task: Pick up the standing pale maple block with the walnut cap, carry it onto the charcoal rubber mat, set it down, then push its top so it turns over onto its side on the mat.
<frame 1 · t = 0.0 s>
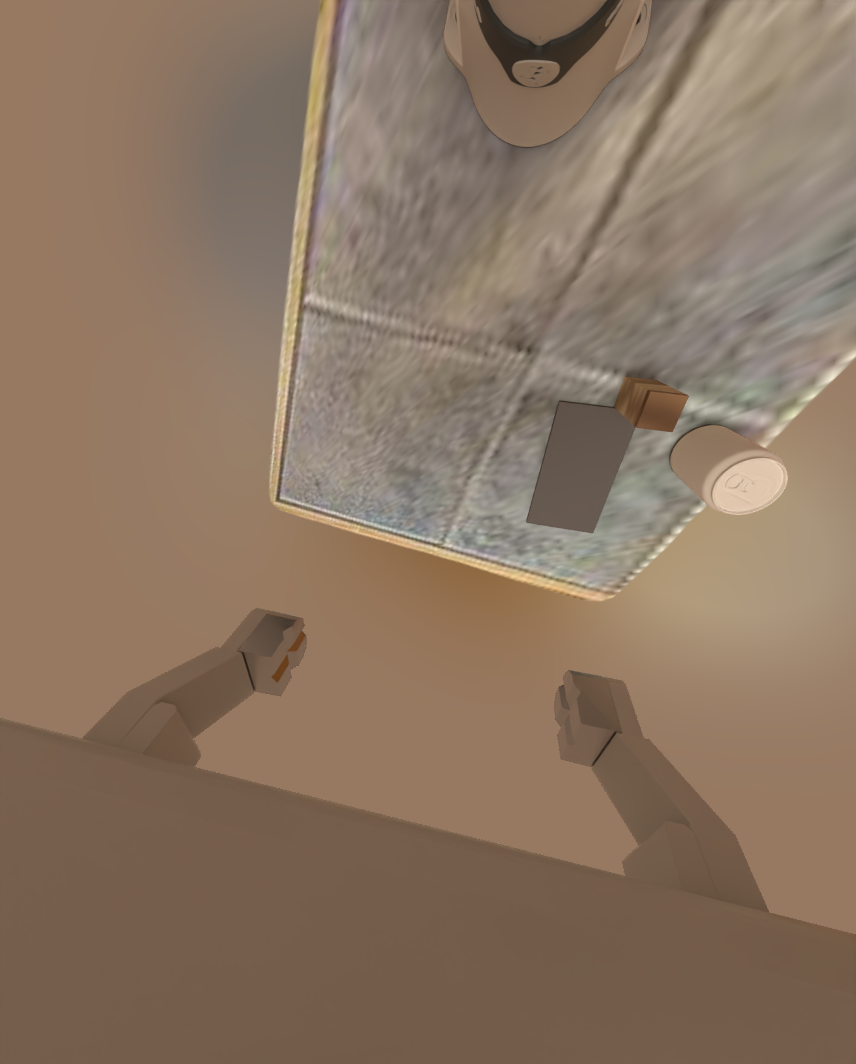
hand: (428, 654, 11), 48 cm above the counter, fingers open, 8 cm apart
maple block: (634, 394, 49), on the counter
rubber mat: (577, 471, 55), on the counter
beverage can: (700, 451, 51), on the counter
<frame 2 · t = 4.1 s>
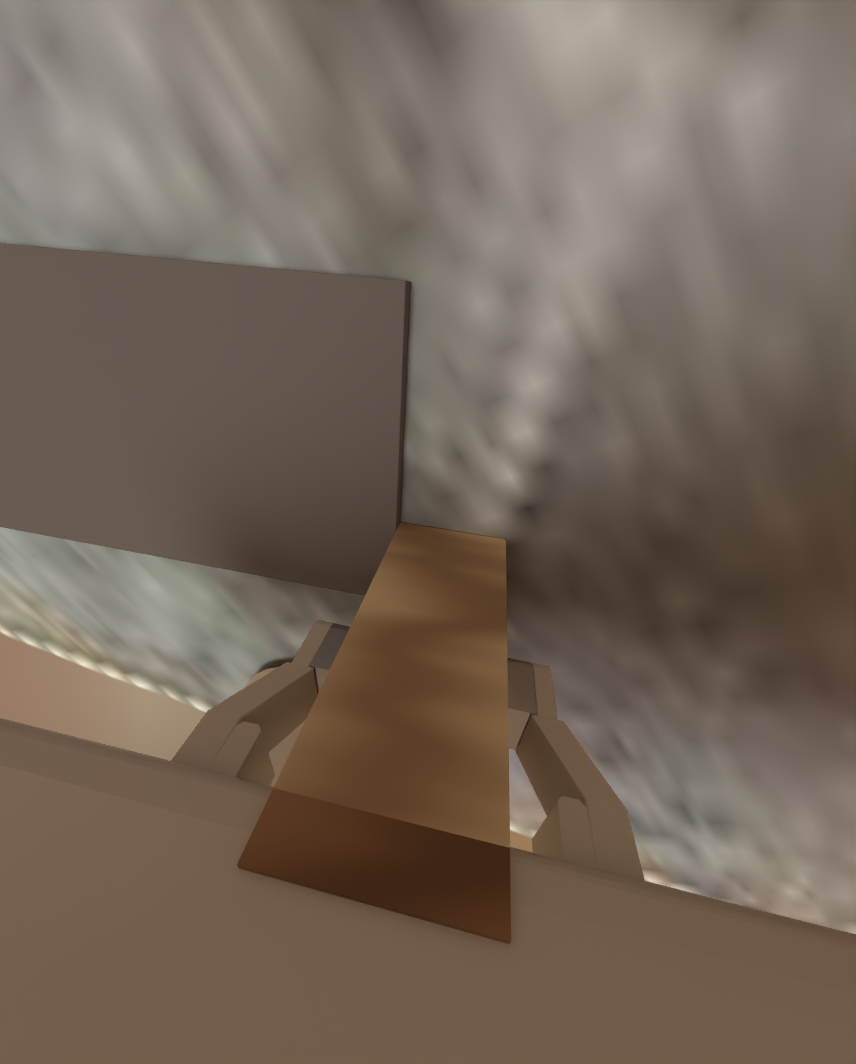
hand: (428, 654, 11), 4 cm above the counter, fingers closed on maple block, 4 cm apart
maple block: (446, 572, 14), on the counter, touching gripper
rubber mat: (144, 435, 13), on the counter
beverage can: (318, 699, 22), on the counter
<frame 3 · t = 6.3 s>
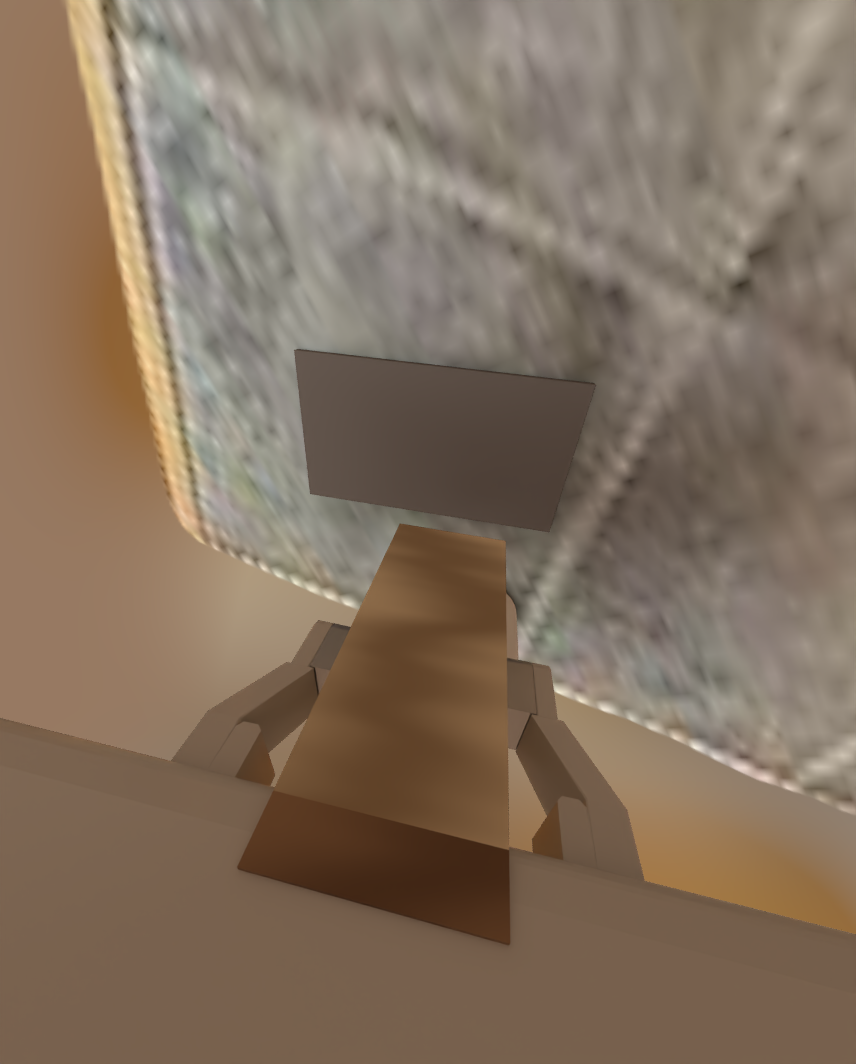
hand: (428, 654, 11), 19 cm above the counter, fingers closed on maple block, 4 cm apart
maple block: (446, 573, 14), point 15 cm above the counter, touching gripper
rubber mat: (432, 445, 27), on the counter
beverage can: (473, 606, 35), on the counter
when the fingers open (6 cm above the counter, at t = 8.9 s): maple block stays where it is, resting on rubber mat.
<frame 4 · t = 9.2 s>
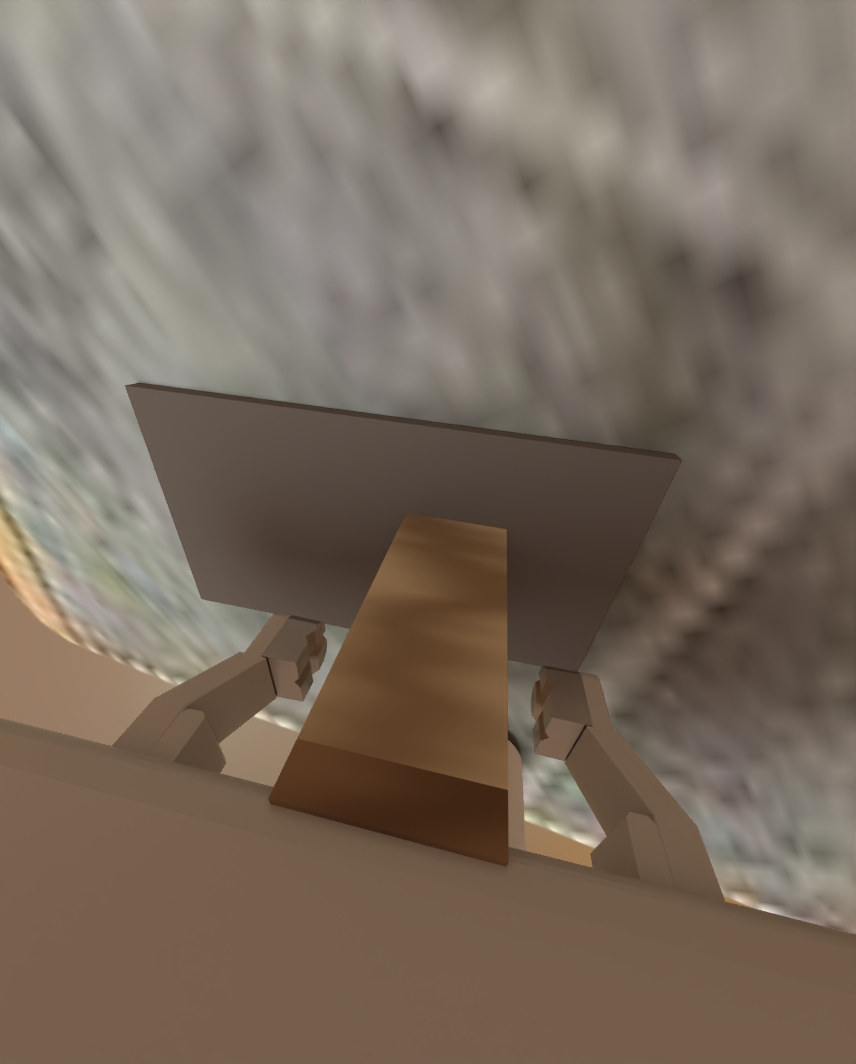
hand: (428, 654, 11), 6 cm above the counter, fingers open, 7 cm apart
maple block: (449, 560, 15), point 1 cm above the counter, touching rubber mat
rubber mat: (383, 540, 16), on the counter
beverage can: (459, 741, 24), on the counter
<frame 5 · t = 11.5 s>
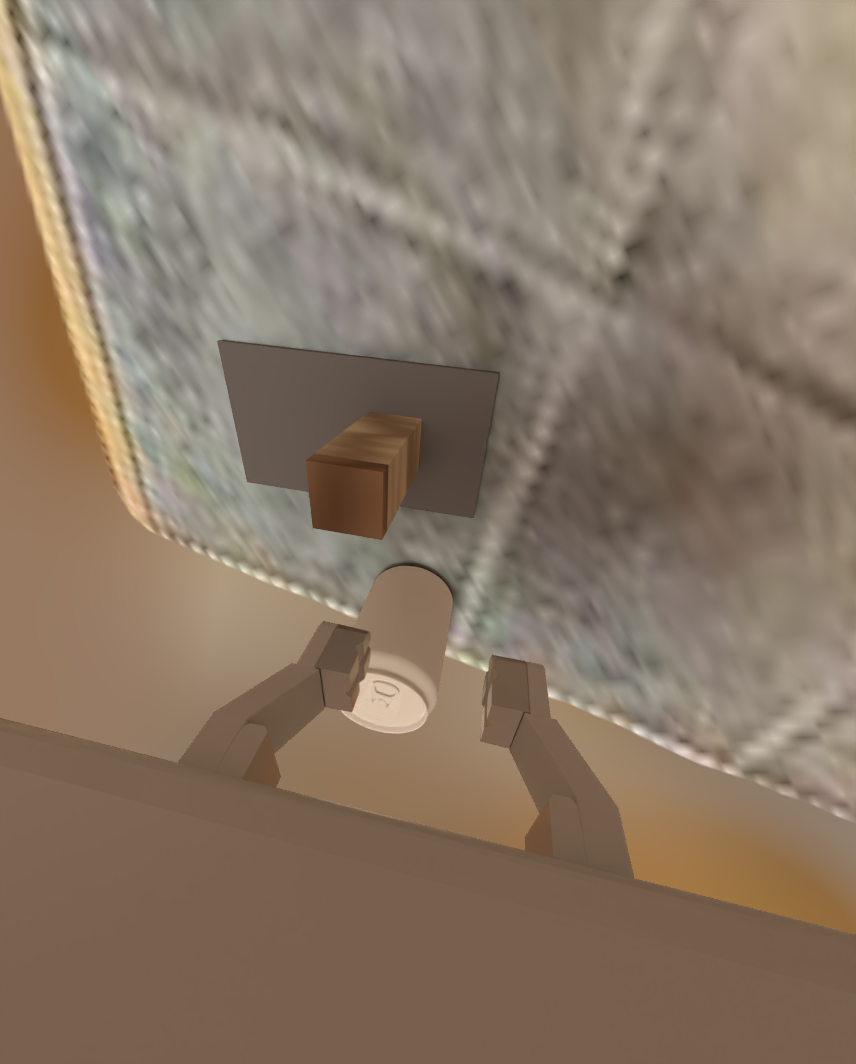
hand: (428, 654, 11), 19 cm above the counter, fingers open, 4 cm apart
maple block: (394, 441, 27), point 1 cm above the counter, touching rubber mat
rubber mat: (357, 433, 28), on the counter
beverage can: (414, 592, 36), on the counter
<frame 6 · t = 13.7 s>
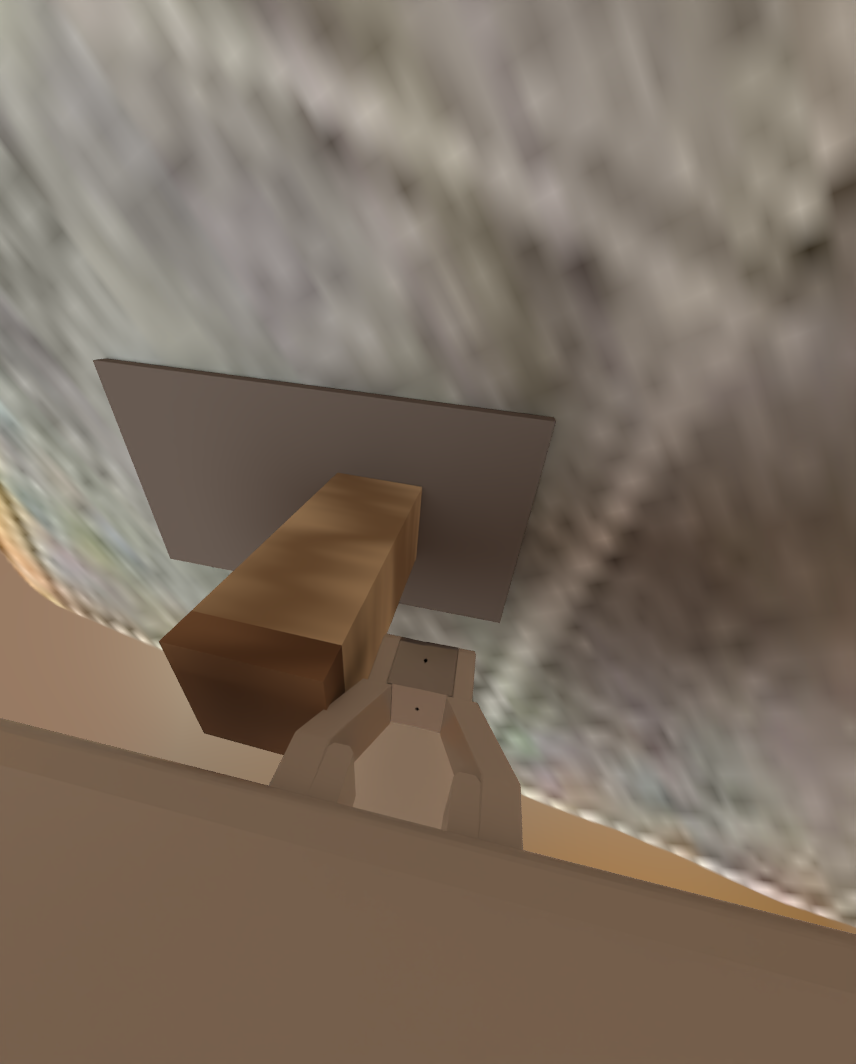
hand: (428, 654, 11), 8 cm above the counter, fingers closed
maple block: (378, 517, 17), point 1 cm above the counter, touching gripper, rubber mat
rubber mat: (323, 500, 18), on the counter
beverage can: (411, 697, 26), on the counter
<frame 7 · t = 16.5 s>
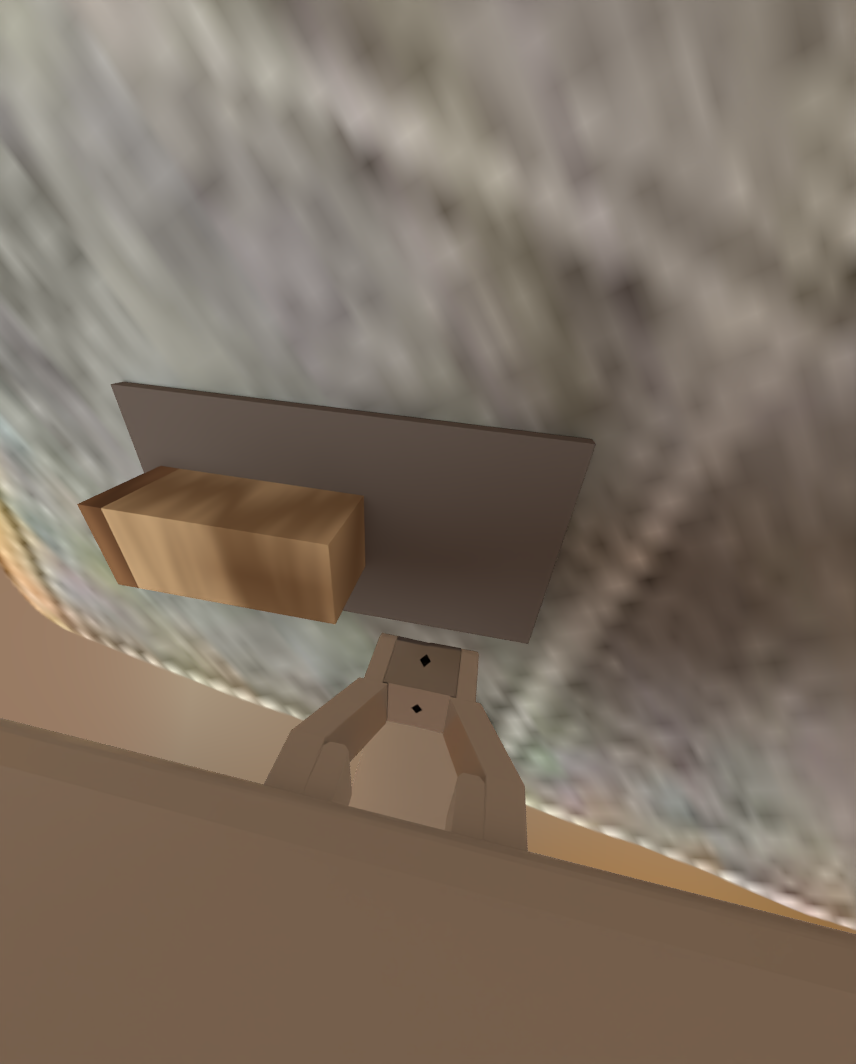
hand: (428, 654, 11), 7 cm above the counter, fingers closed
maple block: (350, 557, 15), point 3 cm above the counter, tilted 90°, touching rubber mat
rubber mat: (348, 522, 18), on the counter
beverage can: (431, 717, 26), on the counter
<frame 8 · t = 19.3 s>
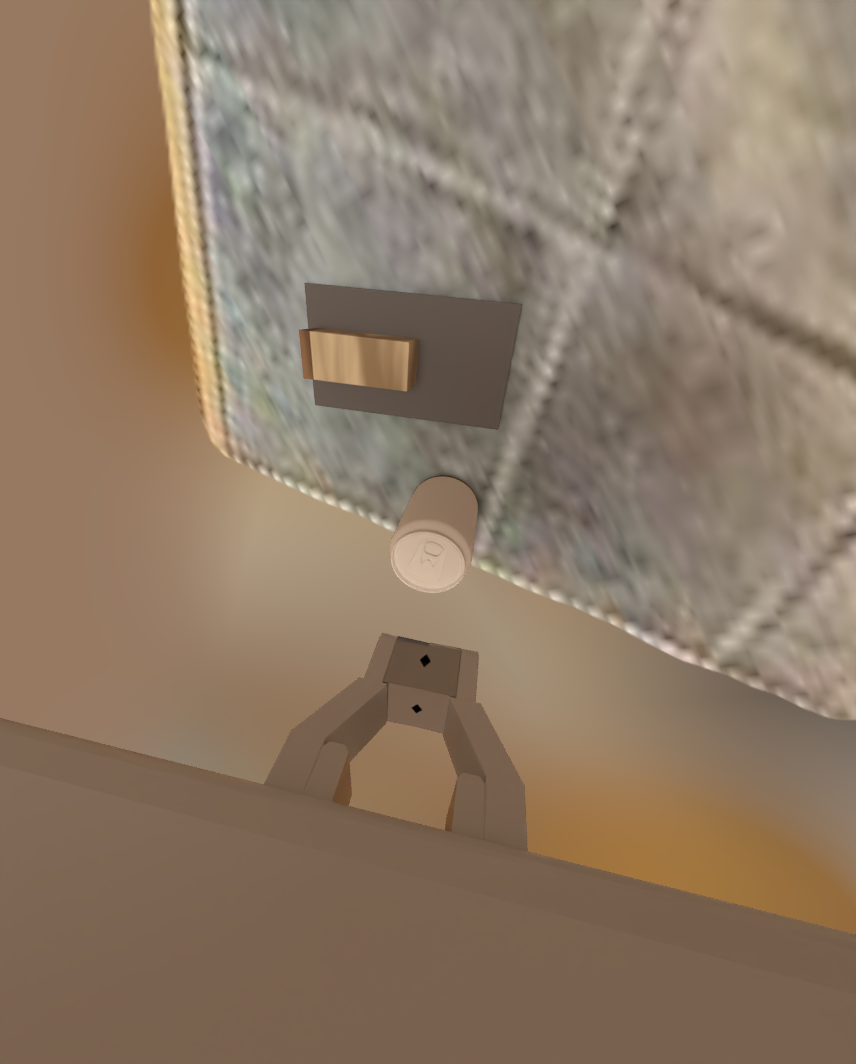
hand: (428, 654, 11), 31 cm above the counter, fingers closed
maple block: (412, 364, 33), point 3 cm above the counter, tilted 90°, touching rubber mat
rubber mat: (408, 359, 36), on the counter
beverage can: (445, 504, 44), on the counter
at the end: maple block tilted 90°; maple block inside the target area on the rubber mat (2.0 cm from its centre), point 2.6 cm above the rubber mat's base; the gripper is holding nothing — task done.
